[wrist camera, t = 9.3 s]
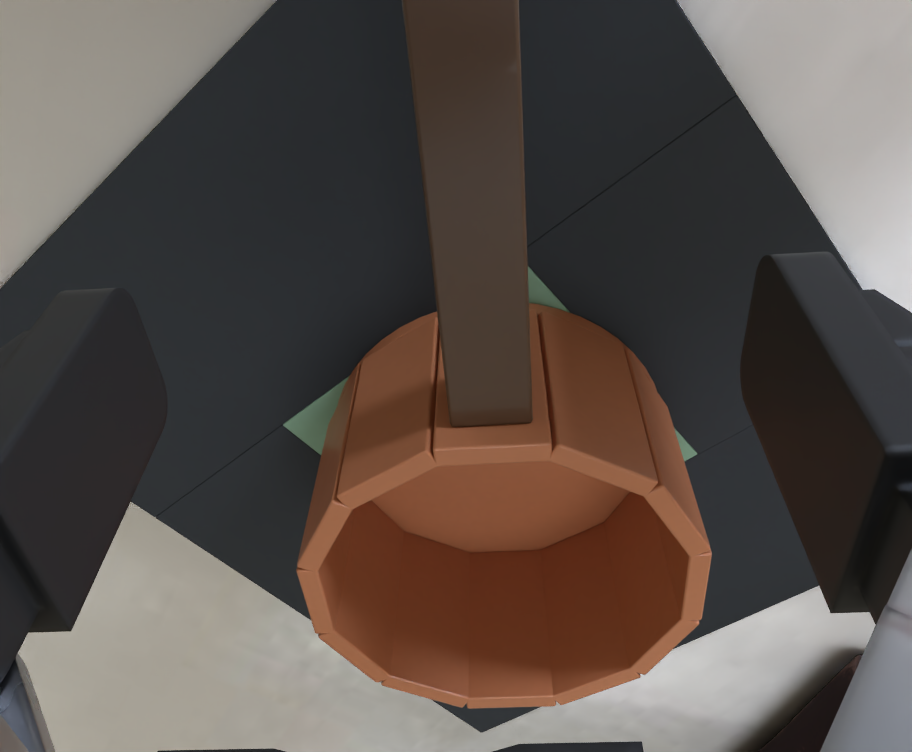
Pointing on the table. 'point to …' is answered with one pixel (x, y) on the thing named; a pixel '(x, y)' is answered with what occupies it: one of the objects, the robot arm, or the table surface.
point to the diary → (815, 716)
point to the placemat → (410, 269)
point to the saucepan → (496, 441)
